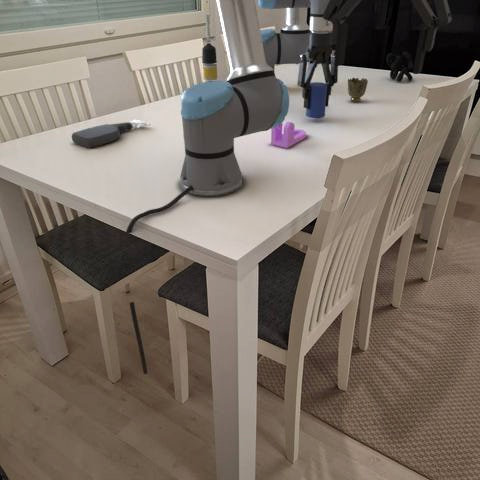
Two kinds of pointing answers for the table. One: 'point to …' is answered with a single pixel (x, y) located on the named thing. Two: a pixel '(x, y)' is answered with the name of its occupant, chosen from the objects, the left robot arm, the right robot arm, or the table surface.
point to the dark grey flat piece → (104, 133)
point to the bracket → (286, 135)
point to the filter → (209, 57)
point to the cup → (357, 88)
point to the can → (317, 100)
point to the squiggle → (399, 66)
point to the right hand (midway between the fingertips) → (315, 106)
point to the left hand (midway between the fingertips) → (376, 68)
